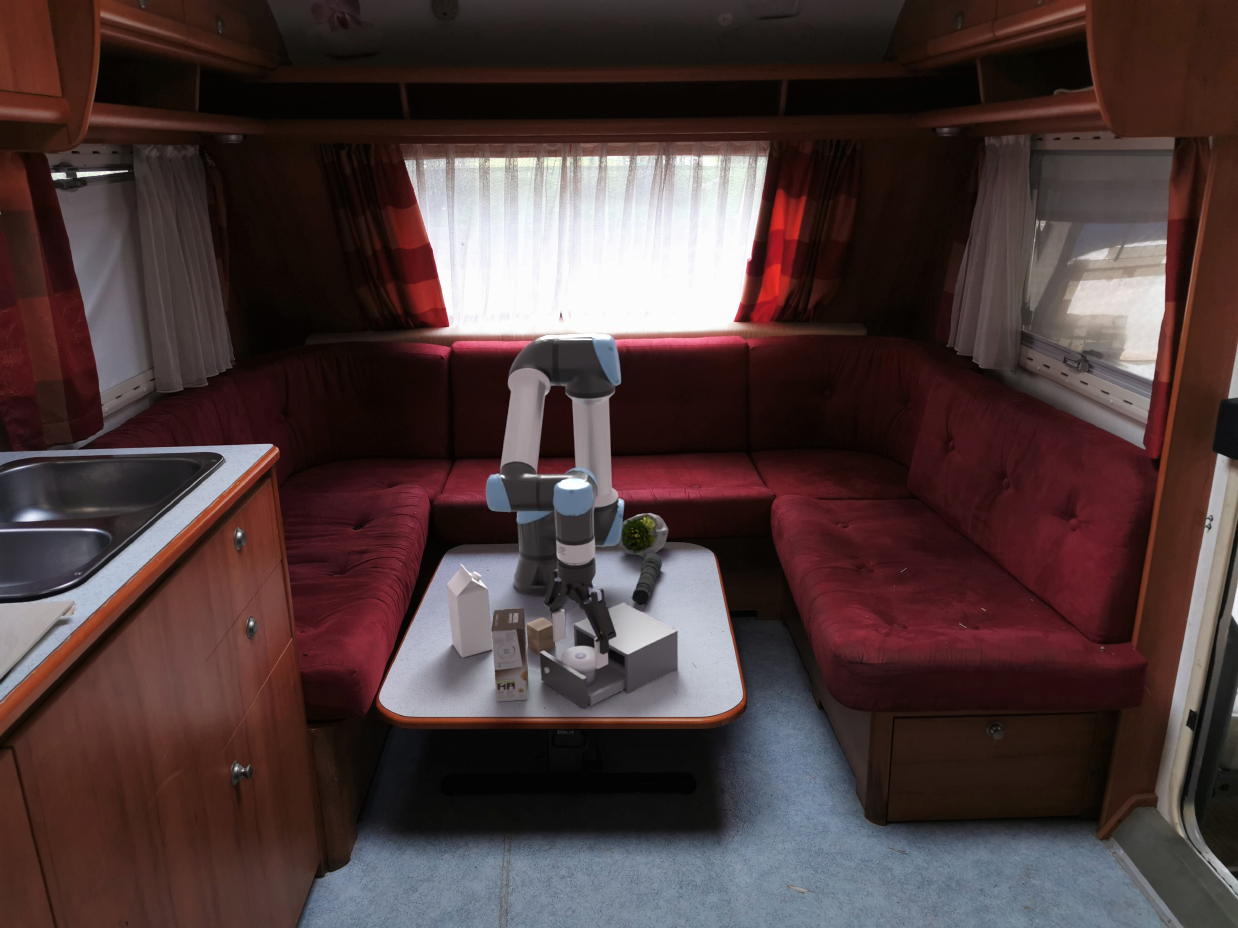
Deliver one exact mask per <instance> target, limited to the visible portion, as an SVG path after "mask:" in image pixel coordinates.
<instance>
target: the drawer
mask: <svg viewBox="0 0 1238 928" xmlns="http://www.w3.org/2000/svg"><path fill="white" fill-rule="evenodd" d="M539 660H540V662H539V665H540V680H541V682H543V683H545V684H546V685H547V686H550V687H551V688H552V689H554V690H555V691H557V692H558V693H560V694H561V695H563V697H566V698H568V700H570V701H572V702H573V703H574V704H576V705H577V706H579V707H581V709H587V708H588V706H589V705H590V706H594V705H595V704H597V703H599V702H601V701H603V700H605V699H607V698H609V697H611V696H613V695H615V694H617V693H619V692H621V691H623V689H625V667H624V666H622V665H620V664H619V663H617V662H615V661H613V660H612V659H610V658H608V664H607V665H605V666H603V667H601V668H599V669H595V670H593V671H591V672H587V673H579V672H577V671H576V670H574V669H572V668H571V667H569V666H568V665H566V664H564V663H563V662H561V659H558V658H556V657H555V656H553V655H551V654H550V653H548V652H545V651H541V652H540V655H539Z"/></svg>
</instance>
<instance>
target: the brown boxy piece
mask: <svg viewBox="0 0 1238 928" xmlns="http://www.w3.org/2000/svg"><path fill="white" fill-rule="evenodd" d="M525 628H526V644H527V649H529V650H530V651H532V652H533V653H535V654H537V655H538V656H540V652H541V651H545V652H547V653H548V652H550V651H552V650H555V649H556V648H557V647H556V642H554V641H553V624H552V621H550V620H548V619H546V618H545V617H540V618H537V619H535V620H533V621H530V622H527V623H525Z"/></svg>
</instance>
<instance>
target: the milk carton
mask: <svg viewBox="0 0 1238 928" xmlns="http://www.w3.org/2000/svg"><path fill="white" fill-rule="evenodd" d="M482 578H483V577H482V575H481V574H479V572H476V571H473V572H469V571H468V570H467V569H466V567H465V566H464V565H463V564H462V563H460V568H459V569H458V571H456V572H455V574H453V576H452V578H451V579H449V581H448V582H447V583H446V589H447V599H448V600H447V601H448V611H449V619H450V620H449V621H450V632H451V643H452V645H453V647H454V648H455V650H456V651H457V653H458V654H459V655H460V657H461V658H466V657H470V656H474V655H477V654H481V653H484V652H488V651H493V642H492V631H491V629H492V621H491V612H490V598H489V589H488V587H487V586H486V585H485V584H484V583H483V582H482V580H481V579H482Z"/></svg>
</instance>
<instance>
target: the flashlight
mask: <svg viewBox="0 0 1238 928" xmlns="http://www.w3.org/2000/svg"><path fill="white" fill-rule="evenodd" d="M662 566H663V561H662V558H661V556H659V555H658V554H656V553H650V554H648V555H647V556H646V557H645V558H643V562H642V564H641V567H640V575H639V577H638V580H637V584H636V586H635V589H634V591H633V593H632V596H631V600H632V601H633V602H634V603H635V604H636V605H637V606H641V607H642V606H645V605H647V604H648V602H649V600H650V597H651V596H650V595H651V592H652V590H653V588H654V584H655V581H656V578H657V577H658V576H659V575H660V572H661V569H662Z"/></svg>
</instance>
